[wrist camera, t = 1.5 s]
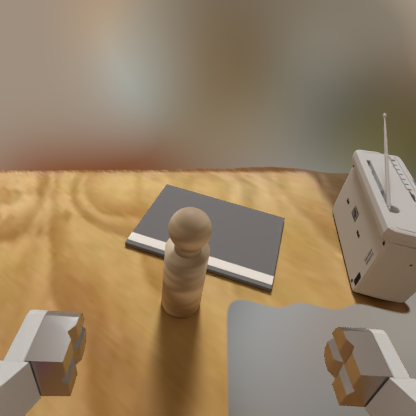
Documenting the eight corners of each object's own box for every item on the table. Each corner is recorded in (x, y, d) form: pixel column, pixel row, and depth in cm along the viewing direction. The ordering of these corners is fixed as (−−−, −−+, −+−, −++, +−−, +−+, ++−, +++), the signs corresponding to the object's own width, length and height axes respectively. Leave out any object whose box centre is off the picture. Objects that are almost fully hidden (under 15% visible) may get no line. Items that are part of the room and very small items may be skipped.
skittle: (155, 310, 42) (159, 220, 32) (170, 280, 46) (177, 192, 36) (192, 323, 41) (208, 235, 31) (204, 292, 45) (222, 204, 35)
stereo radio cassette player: (404, 310, 47) (501, 199, 34) (346, 298, 47) (421, 185, 34) (368, 215, 63) (426, 116, 50) (325, 207, 63) (372, 106, 51)
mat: (125, 244, 49) (125, 242, 49) (166, 186, 62) (166, 184, 61) (270, 291, 46) (271, 288, 46) (283, 220, 58) (284, 218, 58)
